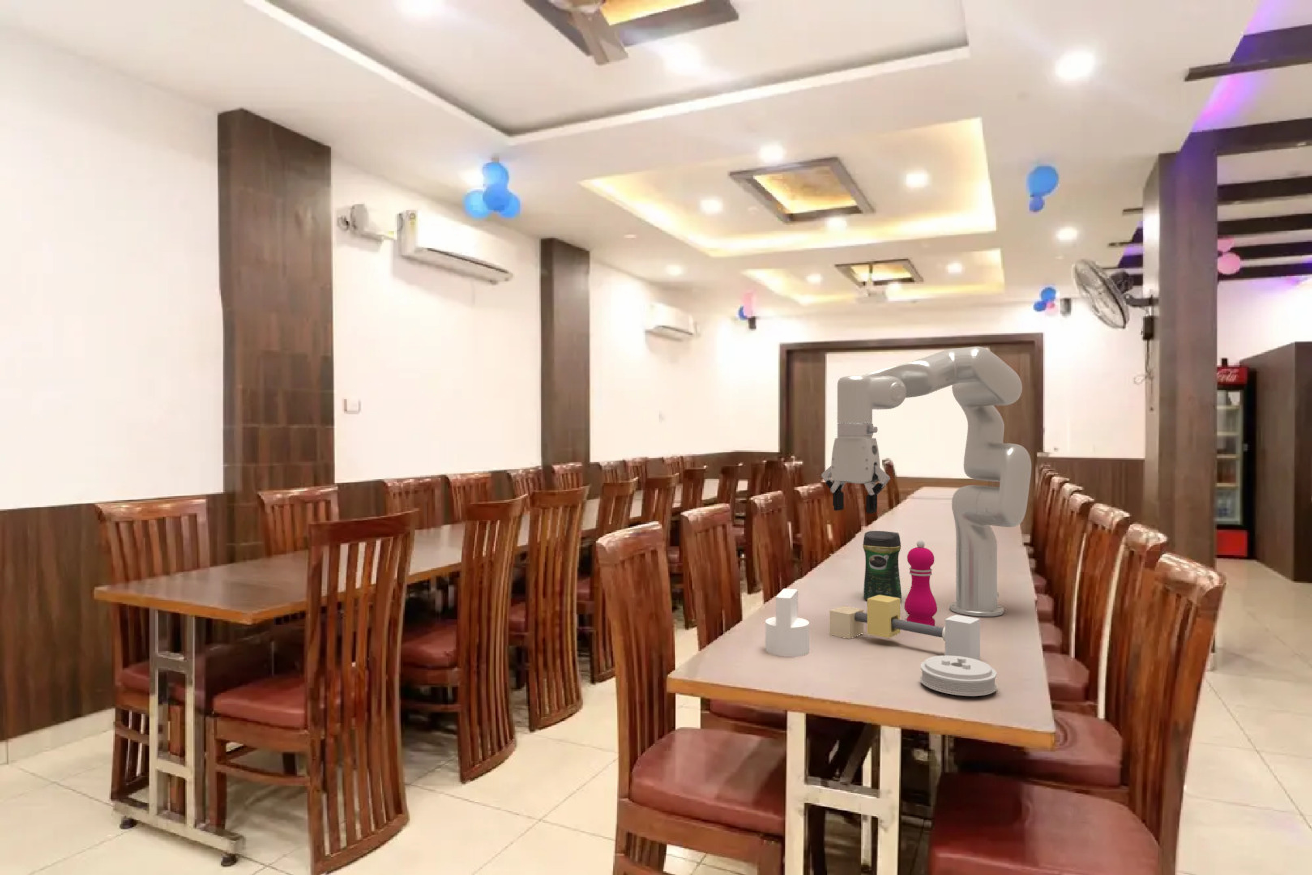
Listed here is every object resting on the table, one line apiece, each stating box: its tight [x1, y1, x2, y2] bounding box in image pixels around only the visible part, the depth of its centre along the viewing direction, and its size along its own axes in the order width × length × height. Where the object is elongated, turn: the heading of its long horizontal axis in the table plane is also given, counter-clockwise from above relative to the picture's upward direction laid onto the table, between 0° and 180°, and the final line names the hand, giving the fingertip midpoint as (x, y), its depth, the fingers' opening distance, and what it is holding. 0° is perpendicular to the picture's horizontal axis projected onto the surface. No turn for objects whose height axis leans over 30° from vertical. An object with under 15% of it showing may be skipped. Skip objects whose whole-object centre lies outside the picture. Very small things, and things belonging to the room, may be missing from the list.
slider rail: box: [829, 605, 981, 660], centre depth 160 cm, size 6×31×8 cm, turn 46°
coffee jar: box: [862, 530, 902, 601], centre depth 202 cm, size 10×8×19 cm
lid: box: [919, 655, 998, 697], centre depth 135 cm, size 13×13×5 cm
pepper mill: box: [903, 540, 938, 626], centre depth 176 cm, size 7×7×20 cm
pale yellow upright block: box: [866, 595, 901, 639], centre depth 163 cm, size 5×5×8 cm
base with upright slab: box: [765, 588, 810, 658], centre depth 158 cm, size 9×9×12 cm
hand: (854, 510), depth 168 cm, fingers open, 7 cm apart
